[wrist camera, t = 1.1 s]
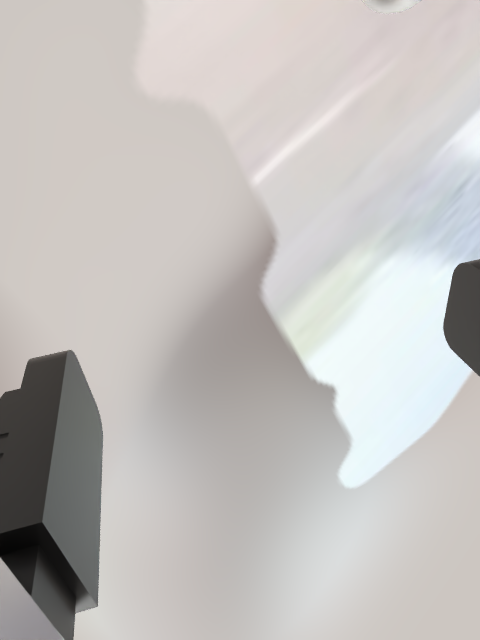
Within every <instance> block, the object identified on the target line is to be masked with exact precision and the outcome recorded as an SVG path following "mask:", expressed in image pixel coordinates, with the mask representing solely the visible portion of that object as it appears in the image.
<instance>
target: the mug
mask: <svg viewBox="0 0 480 640" xmlns="http://www.w3.org/2000/svg"><path fill="white" fill-rule="evenodd" d="M420 1H421V0H362V2H363V3H364V4H365V5H366V6H367V7H368V8H369V9H371V10H372V11H374V12H377V13H381V14H394V13H400V12H403V11H405V10H407V9H410V8H412V7H413V6H415V5H416V4H417V3H419V2H420Z"/></svg>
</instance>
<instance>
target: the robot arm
mask: <svg viewBox="0 0 480 640" xmlns="http://www.w3.org/2000/svg"><path fill="white" fill-rule="evenodd" d="M443 329H444V335H445V338H446V341H447V343H448V345H449V346H450V348H451V349H452V350H453V351H454V352H455V353H456V354H457V355H458V356H459V357H460V358H461V359H462V360H463V361H464V362H465V363H466V364H467V365H468V366H469V367H470V368H471V369H472V370H473V371H474V372H475V373H477V374H478V375H479V376H480V259H479V260H474V261H470V262H465V263H461V264H459V265H458V266H457V267H456V268H455V270H454V272H453V276H452V281H451V287H450V292H449V297H448V302H447V308H446V313H445V318H444V325H443ZM102 448H103V431H102V423H101V419H100V414H99V411H98V408H97V405H96V403H95V400H94V398H93V395H92V393H91V390H90V388H89V386H88V383H87V381H86V379H85V376H84V374H83V371H82V369H81V366H80V364H79V362H78V359H77V357H76V355H75V354H74V352H73V351H71V350H68V351H63V352H59V353H54V354H50V355H45V356H41V357H36V358H32V359H30V360H29V361H28V363H27V366H26V369H25V373H24V377H23V381H22V385H21V388H20V389H17V390H13V391H8V392H5V393H4V394H3V395H2V397H1V398H0V640H73V636H74V622H75V613H78V612H81V611H85V610H88V609H91V608H95V607H97V606H98V580H99V547H100V513H101V481H102Z"/></svg>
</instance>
